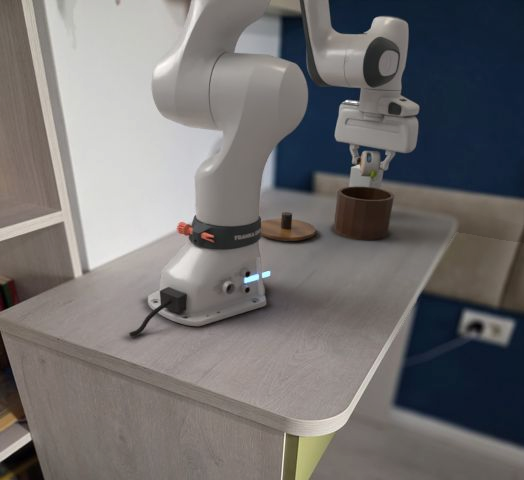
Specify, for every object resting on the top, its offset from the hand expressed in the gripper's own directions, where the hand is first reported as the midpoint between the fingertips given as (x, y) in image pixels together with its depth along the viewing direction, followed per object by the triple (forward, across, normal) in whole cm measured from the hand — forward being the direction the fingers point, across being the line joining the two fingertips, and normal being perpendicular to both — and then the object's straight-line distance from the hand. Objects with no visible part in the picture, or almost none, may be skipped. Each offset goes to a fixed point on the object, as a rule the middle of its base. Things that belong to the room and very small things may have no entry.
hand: (369, 167), depth 120 cm
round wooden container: (+16, 0, 0) cm, 16 cm away
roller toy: (+2, 0, 0) cm, 2 cm away
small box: (+16, -8, +13) cm, 22 cm away
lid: (+15, -12, -16) cm, 25 cm away
